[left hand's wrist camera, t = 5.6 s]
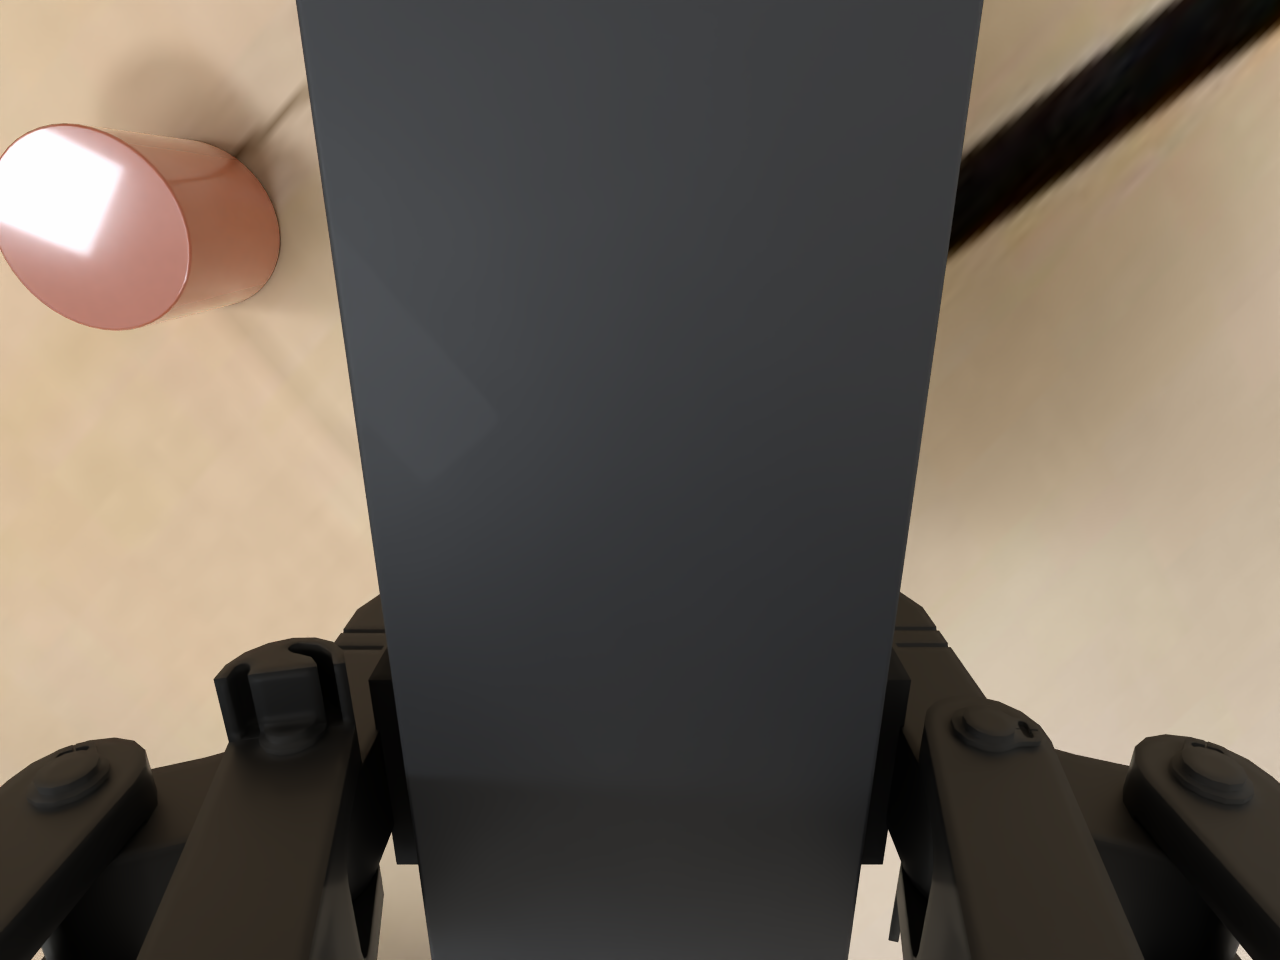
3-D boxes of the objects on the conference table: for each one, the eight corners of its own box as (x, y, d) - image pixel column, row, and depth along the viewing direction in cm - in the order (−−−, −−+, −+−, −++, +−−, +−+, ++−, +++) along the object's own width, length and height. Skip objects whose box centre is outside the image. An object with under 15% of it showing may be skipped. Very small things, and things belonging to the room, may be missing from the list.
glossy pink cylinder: (292, 306, 24) (209, 330, 19) (141, 306, 24) (21, 330, 19) (264, 139, 22) (166, 123, 18) (101, 139, 22) (-41, 123, 18)
